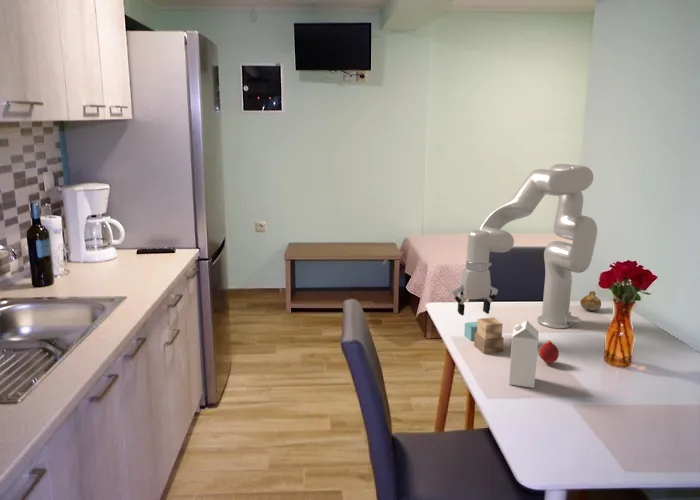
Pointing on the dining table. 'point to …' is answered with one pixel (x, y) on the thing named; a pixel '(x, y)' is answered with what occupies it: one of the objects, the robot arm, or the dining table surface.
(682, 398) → the dining table surface
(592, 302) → the onion
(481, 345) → the walnut base block
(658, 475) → the dining table surface
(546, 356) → the onion
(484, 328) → the oak middle block
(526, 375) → the milk carton
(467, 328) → the teal cube
